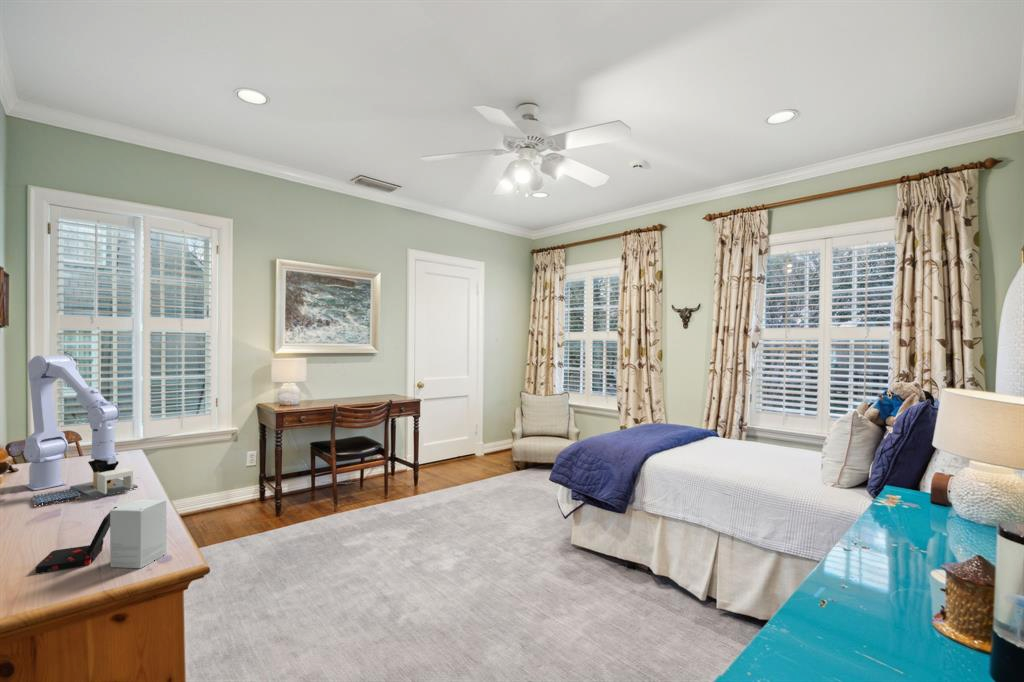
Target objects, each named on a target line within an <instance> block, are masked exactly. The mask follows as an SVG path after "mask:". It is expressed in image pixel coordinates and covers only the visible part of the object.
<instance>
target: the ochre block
mask: <svg viewBox="0 0 1024 682" xmlns="http://www.w3.org/2000/svg"><path fill="white" fill-rule="evenodd" d="M97 473H99V472H95V473H93V472H92V475H93V476H92V482H93V488H94V489H97ZM110 486H113V479H112V480H111V482H110V483H108V484H107V487H110Z"/></svg>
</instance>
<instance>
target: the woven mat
mask: <svg viewBox="0 0 1024 682" xmlns="http://www.w3.org/2000/svg"><path fill="white" fill-rule="evenodd" d="M81 499H82V497H81V494H79V493H78V491H76V490H74V489H73V490H71V489H70V488H69V489H68V490H67V489H66V490H61V491H55V492H51V493H50V492H48V493H45V494H44V495H43V494H42V493H41V494H37V495H33V496H32V497H31V500H32V501H33V502H32V501H31V504H33V505H32V506H33V508H34V507H37V508H43V507H47V506H46V504H47V505H48V506H53V505H52V504H54V505H58V504H63V503H62V501H63V502H64V503H68V500H69V502H73V500H75V501H79V500H81ZM42 503H43V505H42ZM57 503H58V504H57ZM34 505H36V506H34ZM39 505H41V507H39ZM42 506H43V507H42Z"/></svg>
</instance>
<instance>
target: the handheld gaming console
mask: <svg viewBox="0 0 1024 682" xmlns="http://www.w3.org/2000/svg"><path fill="white" fill-rule="evenodd" d="M117 507H118V506H114V507H113V508H112V509H115V508H117ZM109 530H110V511H109V512H108V513H107V514H106V515H105V516H104V517H103V519H102V521H101V522H100V525H99V527H98V529H97V531H96V533H95V535H94V537H93V539H92V541H91V542H90V545H89V544H88V545H82V546H75V547H68V548H62V549H56V550H55V549H54V550H52V551H50V552H49V554H47V555H46V556H45V557H44V558H43V559H42V560H41V561H40V562H39V563H38V564H37V565H36V566H35V574H36V573H39V574H43V573H42V572H45V573H49V572H51V573H52V572H56V571H61V570H62V571H63V570H68V569H69V570H70V569H75V568H81V566H82V567H85V566H89V565H91V564H93V562H94V561H95V560H96V559H97V557H99V555H100V554H101V552H102V551H103V549H104V547H103V546H104V538H105V537H106V535H107V533H108V531H109Z"/></svg>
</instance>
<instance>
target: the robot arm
mask: <svg viewBox="0 0 1024 682" xmlns="http://www.w3.org/2000/svg"><path fill="white" fill-rule="evenodd" d="M27 371H28V373H27V374H28V379H29V387H30V388H29V389H30V398H31V400H30V401H31V409H32V418H33V419H32V420H33V421H32V422H33V430H34V431H33V433H31V435H29V436H28V437H27V438H25V440H24V441H25V445H24V448H23V455H24V458H25V459H26V460H27V461H28V462H29V463H30V465H29V468H28V470H29V471H28V474H29V475H28V479H29V481H28V482H29V483H26V484H25V487H26V488H28V489H30V490H32V491H38V490H39V491H40V490H44V489H49V488H55V487H60V486H65V485H67V483H66V482H65V481H62V458H64V457H65V454H67V452H68V451H69V443H68V441H67V438H66V434H65V432H63V431H61V430H59V429H58V428H57V418H56V417H57V416H56V408H55V395H54V386H53V384H54V383H55V382H56V381H57V380H58V379H62V380H63V381H64V382H65V384H67V385H68V386H69V387H70V388H71V390H73V391H74V392H75V393H76V396H75V399H76V400H77V402H78V403H79V404H80V405H81V407H83V408H84V410H85V411H86V412H87V414H86V418H87V419H86V420H87V421H88V422H89V427H90V429H91V452H90V459H91V460H89V461H87V463H88V465H89V466H90V468H91V470H92V474H93V473H95V472H99V473H101V472H106V471H112V470H116V468H117V466H118V465H119V463H120V462H119V461H117V456H119V455H120V452H118V451H115V449H116V448H115V447H116V446H115V443H116V442H115V440H116V431H115V430H116V421H117V420H118V419H119V417H120V413H121V411H120V408H119V406H118V405H117V404H116V403H111V402H110V401H108V400H107V399H106V398H104V396H103V395H102V394H101V393H100V391H99V389H97V388H95V387H89V385H88V384H87V383H86V381H85V380H84V378H83V377H82V375H81V374H80V373H79V371H78V370H77V362H76V361H75V360H74V358H73V357H72V356H71V355H69V354H63V355H35V356H34V357H32V358H31V359H30V360H29V362H27ZM110 482H111V480H107V484H108V483H110Z"/></svg>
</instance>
